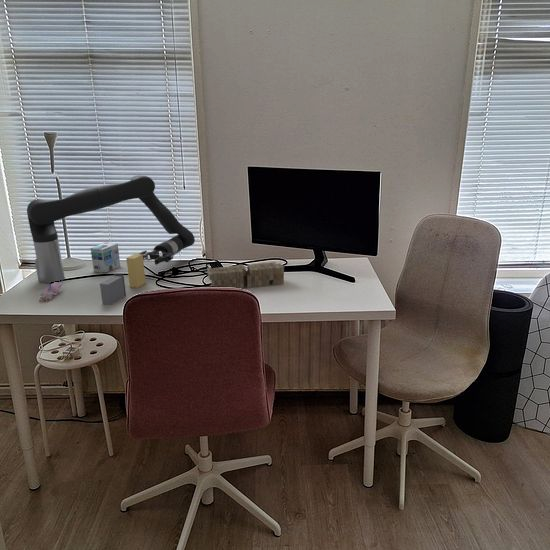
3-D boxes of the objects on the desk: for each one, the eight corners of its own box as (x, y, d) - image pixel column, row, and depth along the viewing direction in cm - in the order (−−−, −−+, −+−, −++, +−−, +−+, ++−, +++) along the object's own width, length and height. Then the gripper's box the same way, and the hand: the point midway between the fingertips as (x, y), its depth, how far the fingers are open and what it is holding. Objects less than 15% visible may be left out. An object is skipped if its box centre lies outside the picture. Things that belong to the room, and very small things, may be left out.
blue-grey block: (117, 295, 187) (114, 274, 185) (126, 295, 186) (123, 274, 184) (102, 304, 179) (99, 282, 176) (111, 305, 178) (108, 283, 175)
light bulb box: (105, 273, 212) (102, 249, 208) (93, 272, 214) (89, 248, 211) (121, 266, 221) (118, 242, 218) (108, 264, 224) (105, 241, 220)
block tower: (278, 281, 202) (207, 286, 195) (278, 261, 199) (206, 266, 192) (283, 287, 195) (210, 293, 188) (284, 267, 192) (209, 272, 185)
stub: (138, 282, 200) (134, 253, 196) (145, 282, 199) (142, 254, 195) (129, 287, 195) (126, 258, 191) (137, 287, 194) (134, 258, 190)
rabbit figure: (52, 306, 182) (69, 286, 195) (48, 292, 179) (65, 272, 192) (36, 306, 182) (53, 286, 195) (32, 292, 179) (50, 272, 192)
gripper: (150, 241, 217) (129, 251, 202) (179, 243, 212) (160, 253, 198) (152, 257, 219) (132, 269, 204) (181, 259, 215) (162, 271, 200)
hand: (146, 261), depth 201 cm, fingers open, 8 cm apart
